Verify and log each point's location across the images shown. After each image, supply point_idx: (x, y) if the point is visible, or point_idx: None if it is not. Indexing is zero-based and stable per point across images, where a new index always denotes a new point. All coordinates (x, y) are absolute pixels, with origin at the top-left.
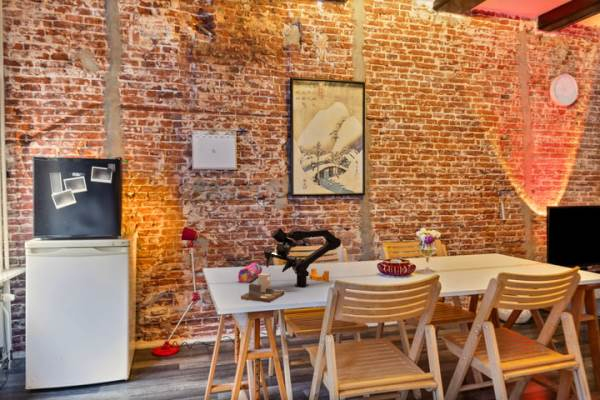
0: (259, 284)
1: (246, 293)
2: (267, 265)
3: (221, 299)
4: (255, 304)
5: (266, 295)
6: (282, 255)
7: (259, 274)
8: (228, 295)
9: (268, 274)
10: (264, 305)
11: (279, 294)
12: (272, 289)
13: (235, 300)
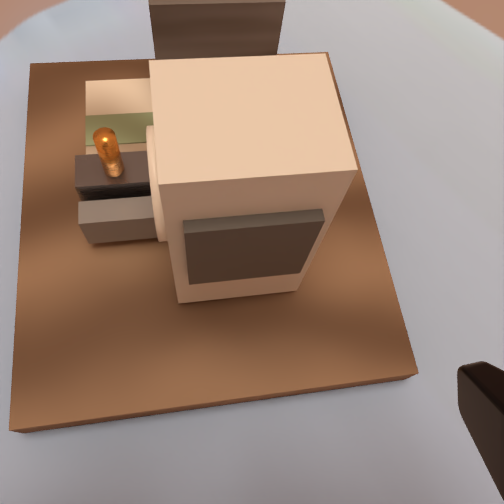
0: (169, 1)
1: (348, 132)
2: (486, 388)
3: (427, 11)
4: (123, 9)
5: (123, 148)
6: None
7: (310, 64)
8: (483, 109)
9: (166, 133)
10: (43, 14)
11: (19, 272)
12: (77, 190)
13: (325, 29)
